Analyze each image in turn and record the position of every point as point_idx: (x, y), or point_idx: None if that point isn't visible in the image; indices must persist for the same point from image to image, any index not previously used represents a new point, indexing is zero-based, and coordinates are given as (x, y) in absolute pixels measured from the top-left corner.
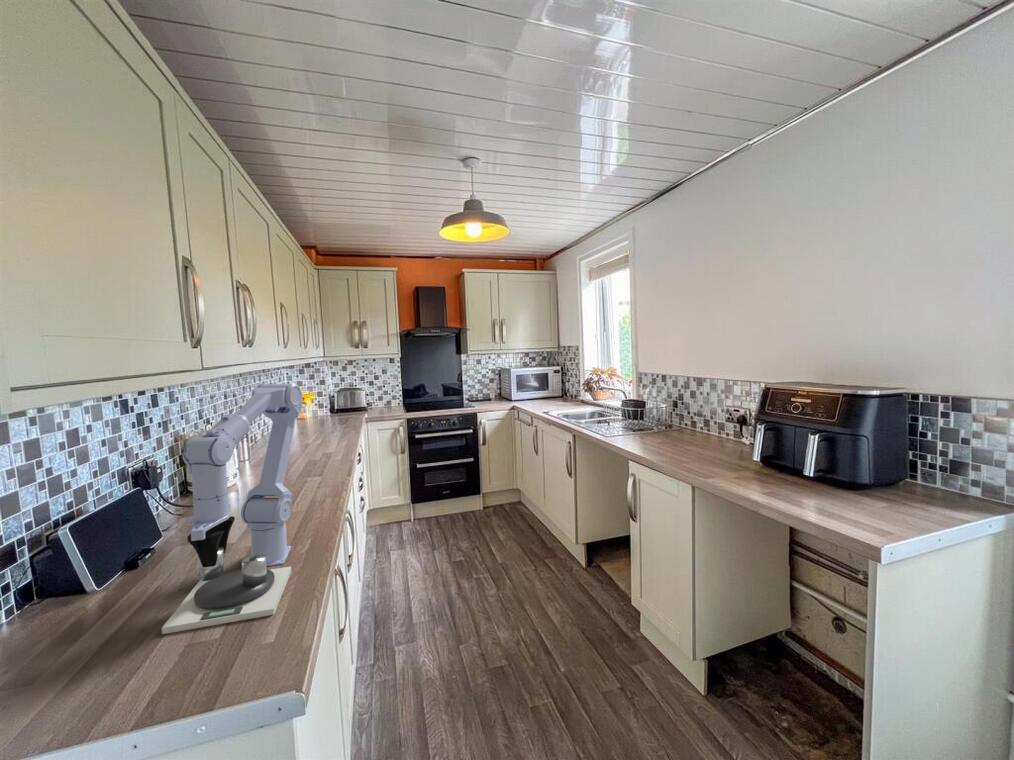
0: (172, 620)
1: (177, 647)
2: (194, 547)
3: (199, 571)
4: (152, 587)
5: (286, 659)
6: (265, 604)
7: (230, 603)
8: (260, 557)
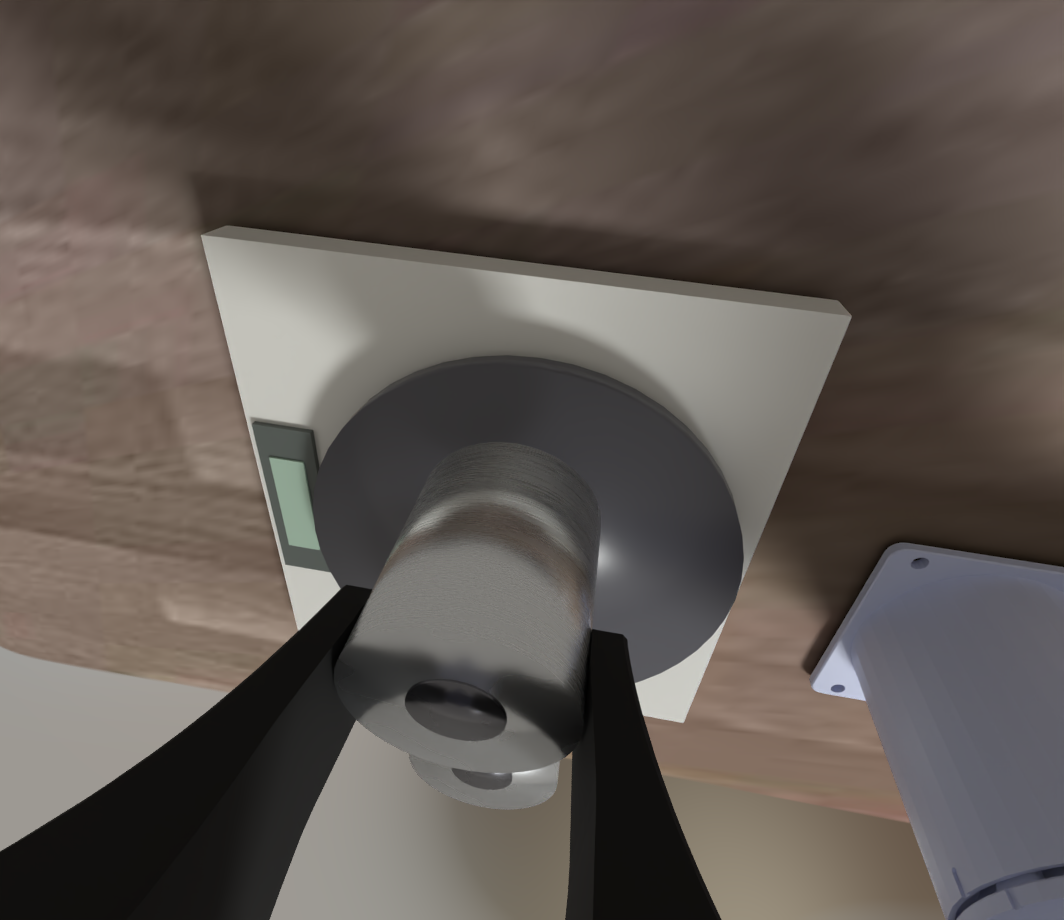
0: (275, 275)
1: (132, 336)
2: (84, 801)
3: (410, 517)
4: None
5: (88, 640)
6: None
7: (324, 549)
8: (488, 792)
